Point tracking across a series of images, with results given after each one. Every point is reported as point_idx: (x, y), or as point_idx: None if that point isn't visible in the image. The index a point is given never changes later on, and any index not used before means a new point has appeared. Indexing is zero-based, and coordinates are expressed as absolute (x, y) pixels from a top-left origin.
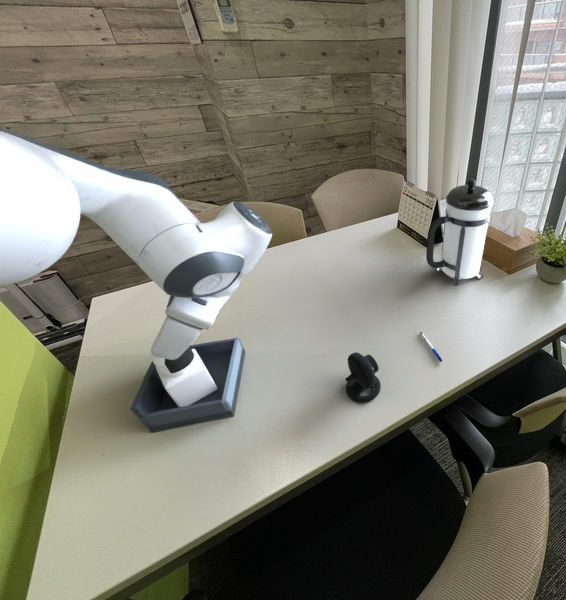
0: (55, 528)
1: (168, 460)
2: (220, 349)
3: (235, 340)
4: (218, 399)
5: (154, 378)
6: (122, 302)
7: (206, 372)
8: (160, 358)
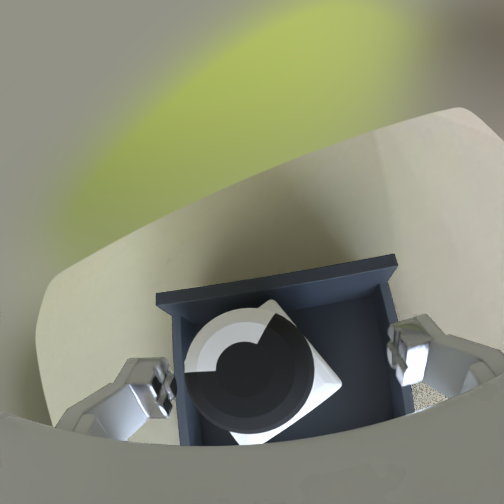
0: (91, 260)
1: None
2: (395, 398)
3: None
4: (231, 443)
5: (261, 297)
6: (477, 129)
7: None
8: (199, 354)
